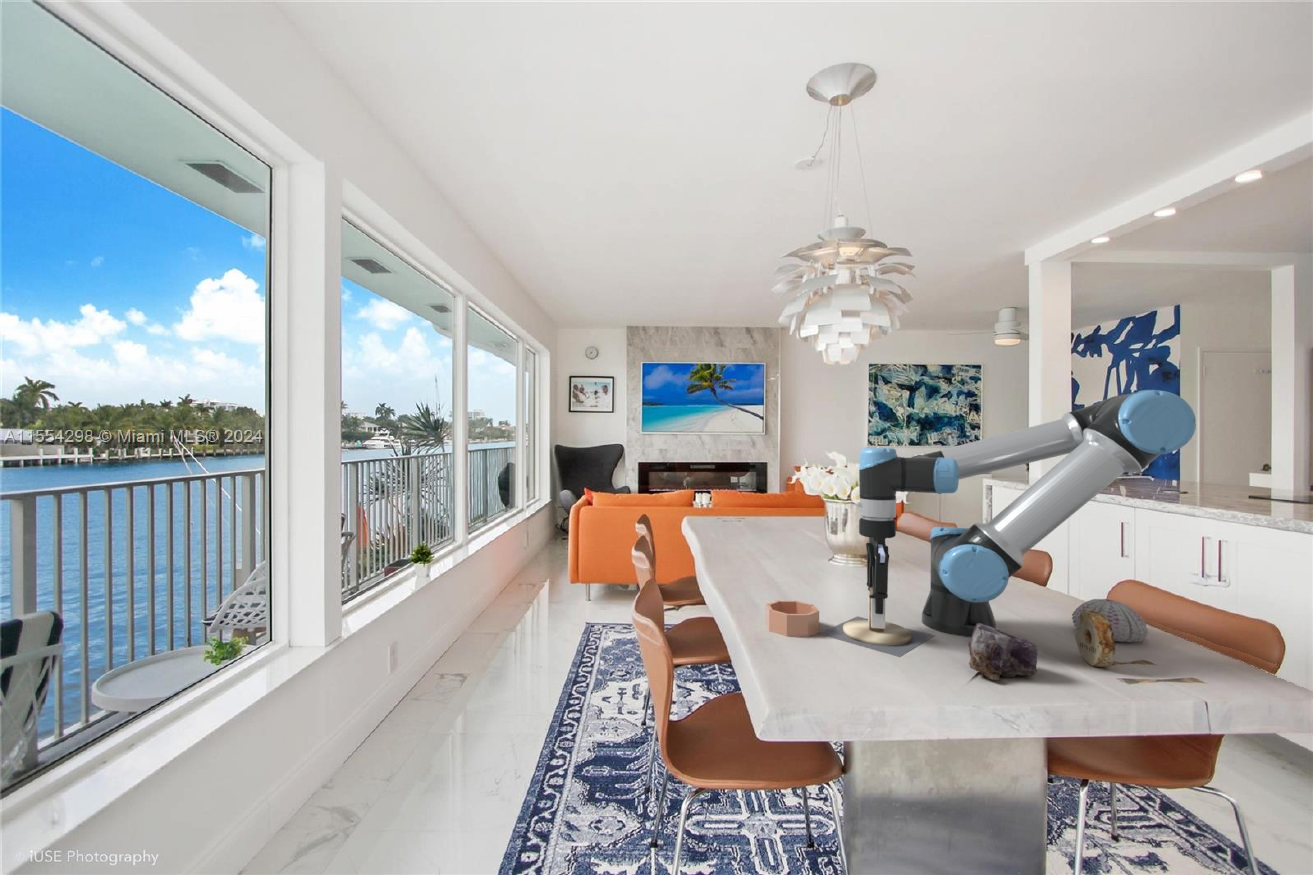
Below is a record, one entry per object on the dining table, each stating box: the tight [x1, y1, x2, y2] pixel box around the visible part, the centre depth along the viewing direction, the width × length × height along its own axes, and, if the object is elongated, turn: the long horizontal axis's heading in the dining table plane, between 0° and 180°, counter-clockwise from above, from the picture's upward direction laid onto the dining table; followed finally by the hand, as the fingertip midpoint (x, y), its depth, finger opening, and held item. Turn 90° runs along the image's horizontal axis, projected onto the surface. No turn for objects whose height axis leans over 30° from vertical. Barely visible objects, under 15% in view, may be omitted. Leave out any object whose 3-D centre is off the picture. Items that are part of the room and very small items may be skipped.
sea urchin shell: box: [1071, 598, 1149, 643], centre depth 127 cm, size 13×14×8 cm
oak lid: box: [843, 587, 911, 646], centre depth 125 cm, size 14×14×10 cm
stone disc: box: [1074, 611, 1116, 668], centre depth 111 cm, size 10×4×10 cm, turn 163°
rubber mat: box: [817, 616, 936, 658], centre depth 125 cm, size 18×18×1 cm
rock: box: [967, 623, 1038, 681], centre depth 106 cm, size 12×9×10 cm
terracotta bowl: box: [765, 600, 820, 638], centre depth 129 cm, size 11×11×5 cm
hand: (876, 624), depth 125 cm, fingers closed on oak lid, 3 cm apart
